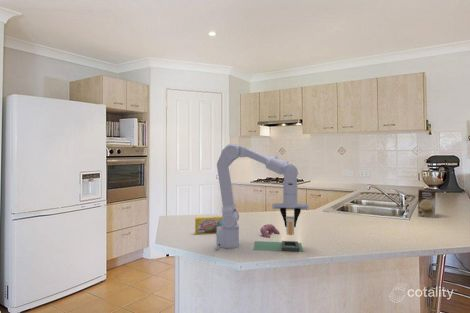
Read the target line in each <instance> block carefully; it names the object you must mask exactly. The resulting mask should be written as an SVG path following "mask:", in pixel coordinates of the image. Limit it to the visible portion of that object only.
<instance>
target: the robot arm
mask: <svg viewBox="0 0 470 313" xmlns="http://www.w3.org/2000/svg"><path fill="white" fill-rule="evenodd" d="M239 158H250V159H252V160H254V161H257V162H259V163H261V164H264V165H265V168H266V169H267V170H269V171H272V172H273V173H276V174H278V175H280V176H281V175H283V184H282V188H283V190H282V191H283V192H282V199H283V200H282V203H280V202H278V203H272V206H271V207H272V210H278V209H279V211H280V214H281V216H282V219H283V223H284V227H285V228H286V227H287V223H286V216H287V210H293V217H294V228H296V227H297V223H298V218H299V216H300V214H301V212H302V210H307V211H308V210H309V204H306V203H305V204H303V203H298V182H297V181H298V178H297V177H298V175H299V172H298V169H297V167H296V166H295V165H294V164H292V163H289V161H284V160H282V159H280V158H279V156H277V155H275V156H273V155H272V156H271V155H270V156H269V157H268V156H266V155H264V154H261V153H260V152H257V151H255V150H254V149H251V148H249V147H246V146H243V145H238V143H237V144H236V143H229V144H227V145H226V146H225V147H224V148H223V149H221V153H220V155H219V158H218V160H217V162H216V168H217V175H218V176H217V177H218V183H219V189H220V190H219V191H220V196H221V201H222V202H221V203H222V209H221V210H222V212H221V214H222V219H221V223H222V226H221V227H217V232H216V233H215V236H216V237H215V238H216V240H215V242H216V246H215V247H216V248H215V250H217V251H218V250H219V251H220V248H225V249H236V248H239V247H240V225H239V224H238V221H239V220H240V214H239V212H238V210H237V208H236V204H235V200H234V195H233V187H232V181H231V174H230V166H231V165H232V163H233V162H234V161H235V160H237V159H239Z"/></svg>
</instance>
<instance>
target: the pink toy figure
mask: <svg viewBox="0 0 470 313" xmlns="http://www.w3.org/2000/svg"><path fill="white" fill-rule="evenodd" d="M259 231H260V234H261V235H262V236H263V237H264V238H267V239H271V235H273V234H274V235H280V234H281V233H280V231H279V230H278V229H277V228H276V226H275V225H274V224H272V223H271V224H270V223H267V224H265V225H263V226H262V227H260V229H259Z"/></svg>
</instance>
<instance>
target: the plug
mask: <svg viewBox="0 0 470 313" xmlns="http://www.w3.org/2000/svg"><path fill="white" fill-rule="evenodd" d="M286 223H287V227H285V229H286V235H289V236H292V235H293V236H294V235H295V227H294V216H288V215H286Z"/></svg>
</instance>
